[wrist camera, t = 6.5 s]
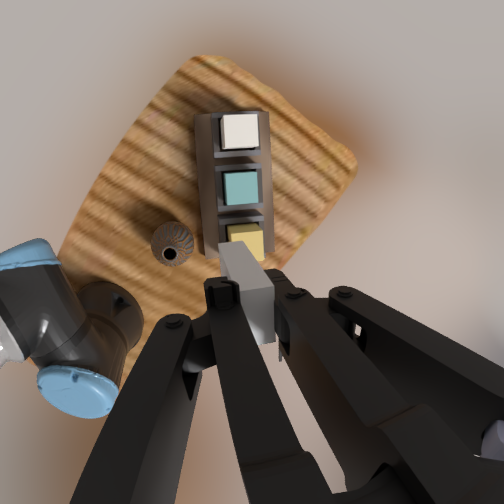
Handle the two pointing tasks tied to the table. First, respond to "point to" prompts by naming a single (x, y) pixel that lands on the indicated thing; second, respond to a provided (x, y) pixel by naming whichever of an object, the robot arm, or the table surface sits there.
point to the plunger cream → (239, 131)
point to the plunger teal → (240, 187)
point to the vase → (172, 243)
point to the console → (232, 160)
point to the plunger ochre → (248, 238)
